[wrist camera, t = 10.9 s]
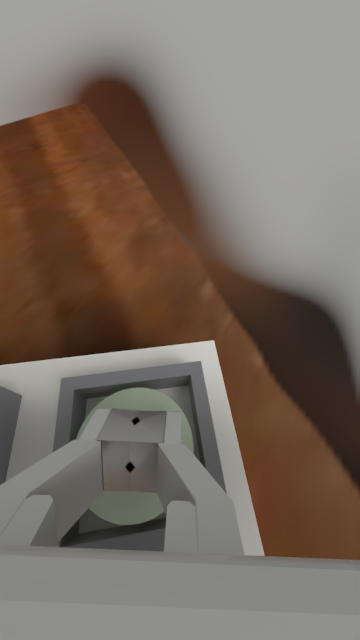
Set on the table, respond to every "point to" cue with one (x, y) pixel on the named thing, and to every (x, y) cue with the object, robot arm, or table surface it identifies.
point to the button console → (93, 387)
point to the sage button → (132, 503)
